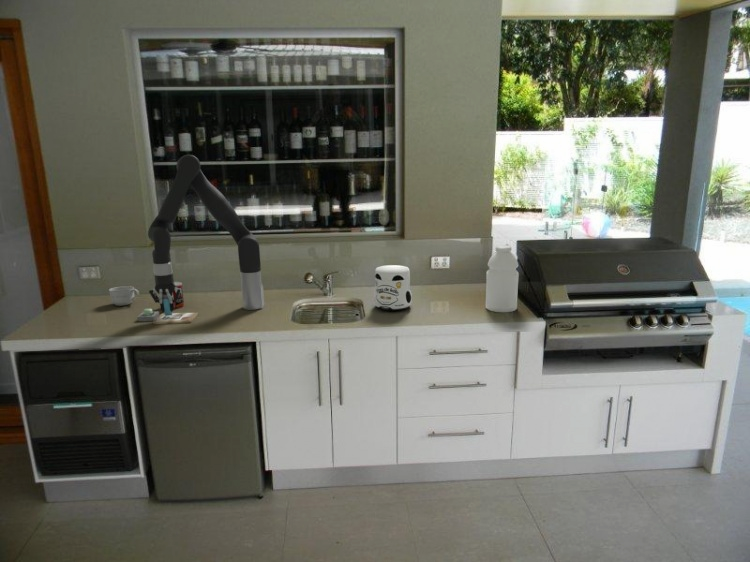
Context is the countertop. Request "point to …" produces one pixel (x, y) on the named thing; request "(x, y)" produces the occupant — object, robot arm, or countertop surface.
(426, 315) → the countertop surface
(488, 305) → the bottle
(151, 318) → the button housing
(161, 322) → the board
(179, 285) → the canned food
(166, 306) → the marker
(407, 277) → the milk container
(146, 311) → the mint green capsule
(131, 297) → the teacup
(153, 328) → the countertop surface
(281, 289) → the countertop surface
